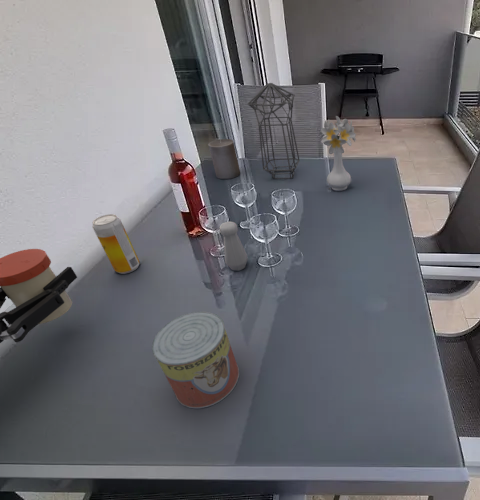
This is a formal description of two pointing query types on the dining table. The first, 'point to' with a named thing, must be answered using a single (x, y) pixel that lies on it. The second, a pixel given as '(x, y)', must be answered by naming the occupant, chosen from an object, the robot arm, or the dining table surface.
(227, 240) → the salt shaker
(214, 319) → the canned food
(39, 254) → the lid
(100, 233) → the beer can
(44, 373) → the dining table surface
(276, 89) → the geometric lantern
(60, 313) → the jam jar
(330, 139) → the flower vase
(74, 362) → the dining table surface
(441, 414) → the dining table surface
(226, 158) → the pillar candle
